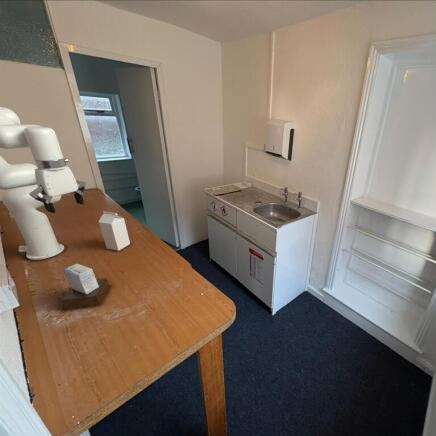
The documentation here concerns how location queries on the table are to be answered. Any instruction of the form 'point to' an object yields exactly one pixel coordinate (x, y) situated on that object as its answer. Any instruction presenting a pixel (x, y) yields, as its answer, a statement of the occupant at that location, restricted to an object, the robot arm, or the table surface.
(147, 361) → the table surface
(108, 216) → the milk carton
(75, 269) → the medicine box
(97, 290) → the walnut block
